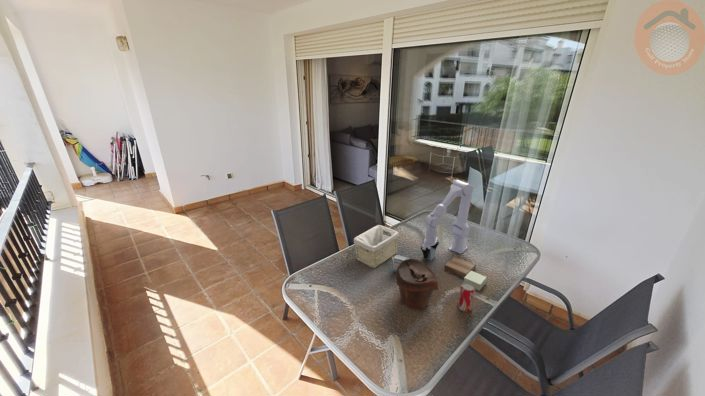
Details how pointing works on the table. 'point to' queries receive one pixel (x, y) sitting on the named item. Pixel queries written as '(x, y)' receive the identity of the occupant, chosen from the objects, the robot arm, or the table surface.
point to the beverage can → (466, 297)
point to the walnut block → (460, 266)
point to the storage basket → (376, 245)
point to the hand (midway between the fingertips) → (429, 255)
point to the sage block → (475, 280)
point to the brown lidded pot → (415, 283)
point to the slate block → (431, 253)
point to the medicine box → (398, 261)
